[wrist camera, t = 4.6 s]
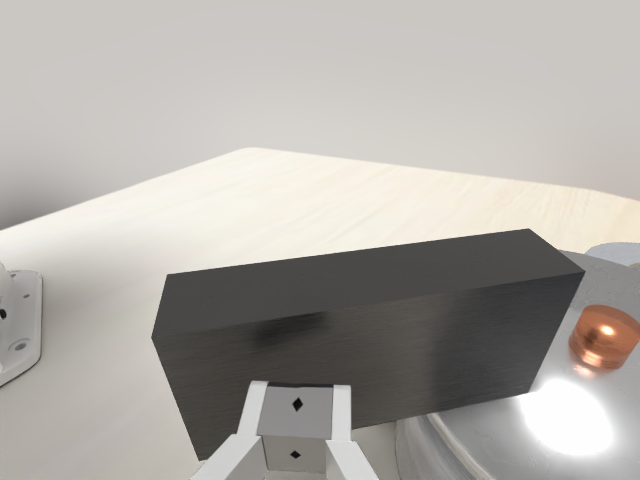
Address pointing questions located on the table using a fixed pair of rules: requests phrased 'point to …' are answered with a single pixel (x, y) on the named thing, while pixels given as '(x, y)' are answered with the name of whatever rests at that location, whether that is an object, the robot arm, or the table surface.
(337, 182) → the table surface
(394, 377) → the lid
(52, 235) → the table surface
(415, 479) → the cooker pot
